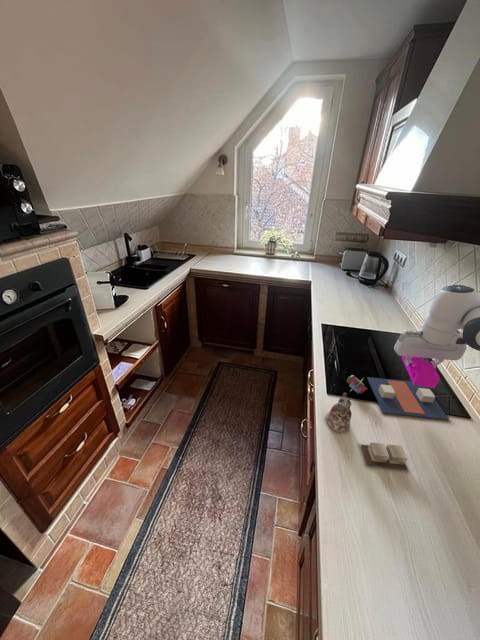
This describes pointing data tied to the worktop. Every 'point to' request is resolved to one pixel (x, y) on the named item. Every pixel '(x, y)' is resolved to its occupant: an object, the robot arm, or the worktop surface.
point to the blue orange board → (405, 399)
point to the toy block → (422, 372)
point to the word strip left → (385, 456)
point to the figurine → (340, 414)
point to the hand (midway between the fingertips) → (419, 365)
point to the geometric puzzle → (356, 384)
